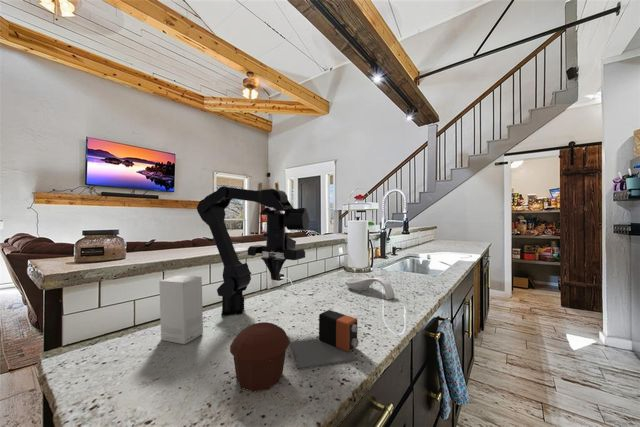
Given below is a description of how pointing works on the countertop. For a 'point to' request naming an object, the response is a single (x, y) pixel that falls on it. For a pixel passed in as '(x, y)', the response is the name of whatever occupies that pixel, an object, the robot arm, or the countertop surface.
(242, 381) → the muffin
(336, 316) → the battery
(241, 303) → the robot arm
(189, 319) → the skincare box
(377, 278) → the spoon rest
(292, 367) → the countertop surface
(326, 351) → the rubber mat
